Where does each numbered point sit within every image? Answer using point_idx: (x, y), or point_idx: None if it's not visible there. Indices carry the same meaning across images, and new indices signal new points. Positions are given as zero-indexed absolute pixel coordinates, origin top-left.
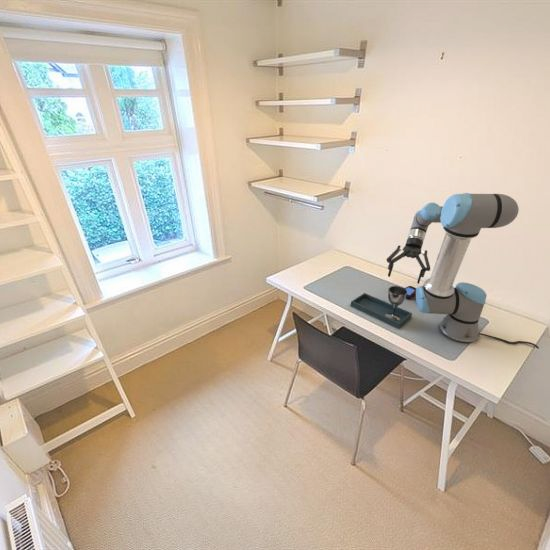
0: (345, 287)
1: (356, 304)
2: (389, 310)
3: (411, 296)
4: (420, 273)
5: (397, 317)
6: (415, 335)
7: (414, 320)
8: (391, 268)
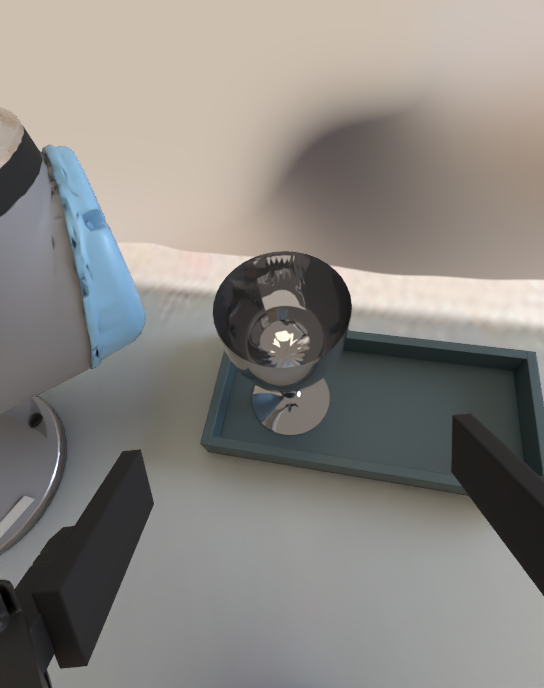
0: None
1: (492, 349)
2: (329, 445)
3: None
4: (88, 526)
5: (266, 396)
6: (164, 333)
7: (188, 442)
8: (504, 467)
